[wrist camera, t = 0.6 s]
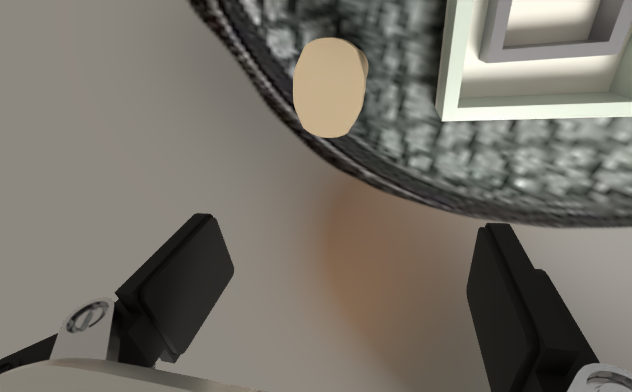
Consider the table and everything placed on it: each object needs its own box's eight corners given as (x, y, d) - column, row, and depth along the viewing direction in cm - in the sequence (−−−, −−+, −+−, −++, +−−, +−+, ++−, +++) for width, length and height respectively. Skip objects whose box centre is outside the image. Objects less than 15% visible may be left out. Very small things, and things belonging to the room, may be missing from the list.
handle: (330, 92, 34) (293, 133, 21) (334, 29, 31) (293, 35, 18) (371, 96, 33) (357, 141, 21) (380, 32, 30) (370, 40, 17)
